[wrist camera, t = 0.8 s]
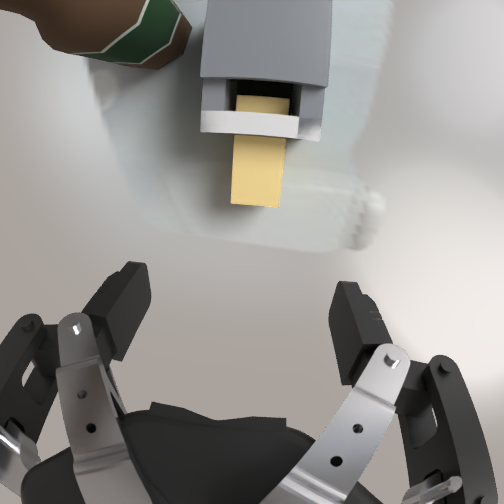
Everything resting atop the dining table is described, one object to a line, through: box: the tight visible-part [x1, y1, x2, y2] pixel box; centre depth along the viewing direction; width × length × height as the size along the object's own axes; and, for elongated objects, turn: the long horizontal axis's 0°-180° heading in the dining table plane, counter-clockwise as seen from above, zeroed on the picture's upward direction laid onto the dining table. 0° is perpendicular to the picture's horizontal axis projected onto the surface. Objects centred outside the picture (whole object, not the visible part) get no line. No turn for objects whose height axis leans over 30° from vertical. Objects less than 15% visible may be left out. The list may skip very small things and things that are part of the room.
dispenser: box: [200, 0, 332, 142], centre depth 18 cm, size 12×8×8 cm
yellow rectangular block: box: [231, 95, 290, 207], centre depth 23 cm, size 9×4×4 cm, turn 176°
